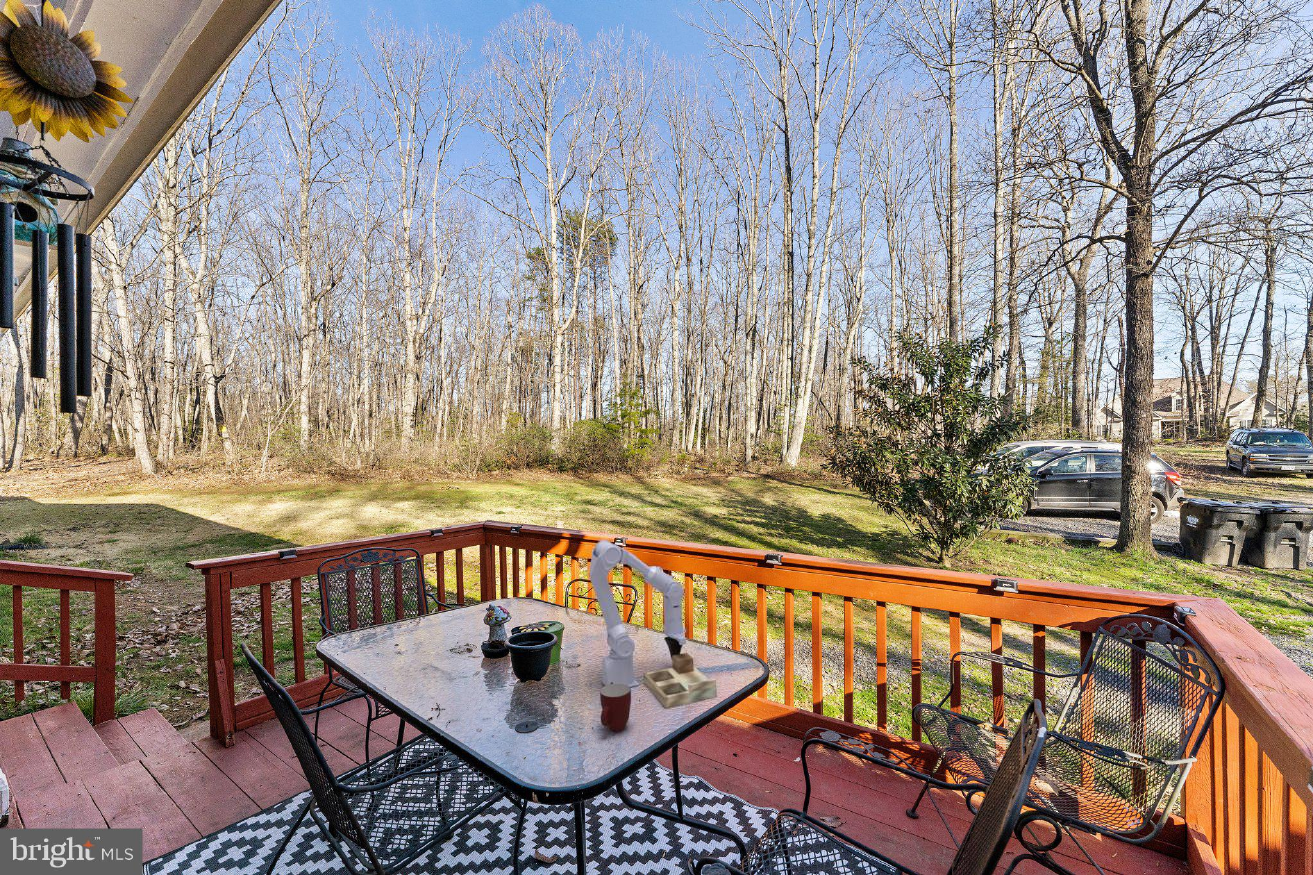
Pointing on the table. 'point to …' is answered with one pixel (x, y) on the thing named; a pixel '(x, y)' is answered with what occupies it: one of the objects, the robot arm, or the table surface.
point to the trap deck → (679, 687)
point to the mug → (615, 706)
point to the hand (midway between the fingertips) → (675, 659)
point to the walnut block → (682, 663)
